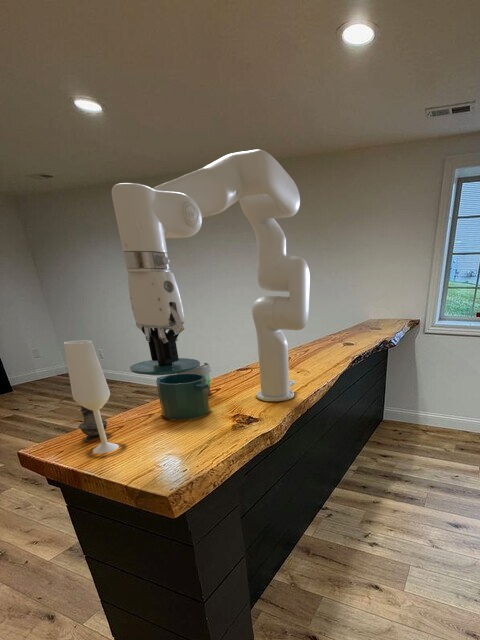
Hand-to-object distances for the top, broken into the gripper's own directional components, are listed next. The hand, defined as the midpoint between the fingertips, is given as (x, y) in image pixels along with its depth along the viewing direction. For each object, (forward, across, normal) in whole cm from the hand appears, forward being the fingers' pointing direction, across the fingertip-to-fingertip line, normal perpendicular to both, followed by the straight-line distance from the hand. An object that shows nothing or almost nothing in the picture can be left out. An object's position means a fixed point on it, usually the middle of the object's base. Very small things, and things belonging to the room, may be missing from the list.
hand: (165, 360), depth 73 cm
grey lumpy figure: (+20, +21, +7) cm, 30 cm away
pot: (+20, +16, -16) cm, 30 cm away
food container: (+21, +26, -31) cm, 46 cm away
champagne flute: (+20, +12, +10) cm, 26 cm away
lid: (+1, 0, 0) cm, 1 cm away
